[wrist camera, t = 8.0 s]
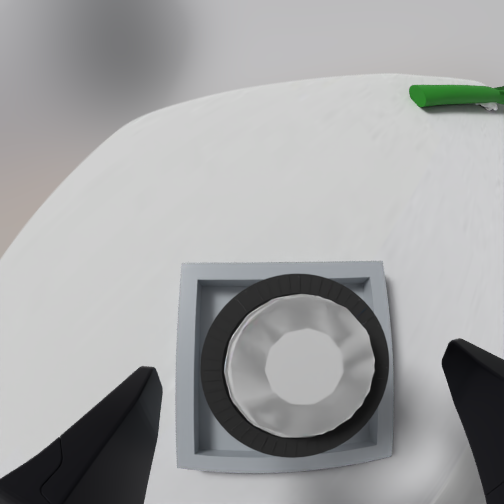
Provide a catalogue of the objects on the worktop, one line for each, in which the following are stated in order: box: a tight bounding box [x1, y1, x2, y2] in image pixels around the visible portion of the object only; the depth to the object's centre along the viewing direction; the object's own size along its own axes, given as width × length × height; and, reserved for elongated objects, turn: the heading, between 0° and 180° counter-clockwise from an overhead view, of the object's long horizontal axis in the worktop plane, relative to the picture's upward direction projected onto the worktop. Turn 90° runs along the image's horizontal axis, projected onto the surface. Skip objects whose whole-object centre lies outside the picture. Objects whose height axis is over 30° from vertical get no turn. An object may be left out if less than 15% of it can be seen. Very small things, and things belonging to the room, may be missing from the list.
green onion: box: [409, 85, 504, 111], centre depth 26 cm, size 5×3×30 cm
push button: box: [200, 273, 389, 458], centre depth 11 cm, size 7×5×10 cm
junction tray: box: [176, 261, 394, 473], centre depth 15 cm, size 12×12×2 cm
